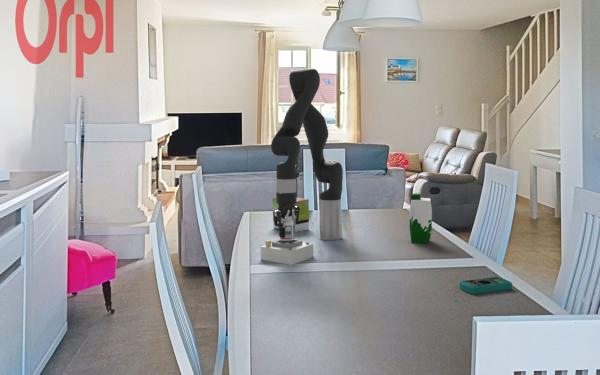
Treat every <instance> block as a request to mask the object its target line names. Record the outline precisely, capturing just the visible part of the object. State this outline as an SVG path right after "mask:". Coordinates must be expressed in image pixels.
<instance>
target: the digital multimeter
mask: <svg viewBox="0 0 600 375" xmlns="http://www.w3.org/2000/svg"><path fill="white" fill-rule="evenodd" d="M459 289H460V290H462V291H463V292H466V293H468V294H471V295H478V294H485V293H486V294H487V293H491V292H492V293H495V292H502V291H509V290H513V283H512V282H511V281H510V280H507V279H505V278H503V277H501V276H493V277H485V278H477V279H476V278H475V279H469V280H468V279H467V280H461V281H459Z"/></svg>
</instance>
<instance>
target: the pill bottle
mask: <svg viewBox="0 0 600 375" xmlns="http://www.w3.org/2000/svg"><path fill="white" fill-rule="evenodd" d="M281 219H284V218H282V217H281ZM282 223H283V221H282ZM284 228H285V237H284V238H282V237H279V240H282V241H291V240H294V239H295V234H294V223H293V222H292V216H289V217H288V219H287V222H286V223H285V227H284Z"/></svg>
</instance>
